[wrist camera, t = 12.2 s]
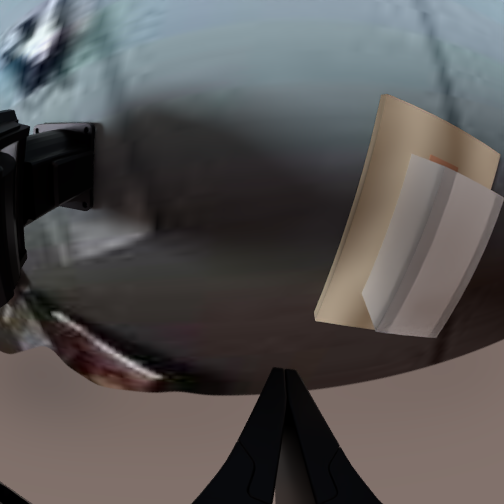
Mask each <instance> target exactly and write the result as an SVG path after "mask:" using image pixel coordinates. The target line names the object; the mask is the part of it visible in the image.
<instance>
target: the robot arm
mask: <svg viewBox="0 0 504 504" xmlns="http://www.w3.org/2000/svg"><path fill="white" fill-rule="evenodd" d="M18 121H19V120H17V117H16V114H15V111H14V110H10V109H9V110H3V111H0V308H1V307H2V306H4V305H5V304H6V303H8V301H9V300H10V299H11V298H12V297H13V296H14V289H15V287H16V284H17V282H18V280H19V278H20V269H21V268H22V266H23V264H24V263H25V261H26V259H27V251H26V249H25V241H24V227H25V226H26V225H28V224H30V223H31V222H33V221H34V220H36V219H38V218H39V217H41V216H43V215H44V214H46V213H48V212H49V211H51V210H53V209H55V208H56V207H59V206H62V207H67V208H72V209H77V210H82V211H88V210H89V209H91V208H92V206H93V161H94V154H93V151H94V135H95V127H94V125H93V124H92V123H52V124H38V125H36V126H35V127H34V131H33V135H29V131H30V126H27V125H23V124H19V123H18ZM87 128H89V132H87ZM85 202H86V203H87V205H86V204H85ZM274 491H275V493H276V494H275V497H276V504H382V503H381V502H380V501H379V500H378V499H377V498H376V496H375V495H374V494H373V492H372V491H371V490H370V489H369V487H368V486H367V485H366V484H365V482H364V481H363V480H362V479H361V478H360V476H359V475H358V474H357V472H356V471H355V469H354V468H353V467H352V465H351V464H350V462H349V460H348V459H347V457H346V456H345V454H344V452H343V450H342V449H341V447H339V444H338V442H337V440H336V439H335V437H334V435H333V433H332V432H331V430H330V428H329V427H328V425H327V423H326V421H325V419H324V418H323V416H322V414H321V412H320V411H319V409H318V407H317V405H316V404H315V402H314V400H313V398H312V397H311V395H310V393H309V391H308V389H307V388H306V386H305V384H304V382H303V381H302V379H301V377H300V375H299V373H298V372H297V371H296V370H293V369H285V370H284V369H283V368H277V367H273V368H272V370H271V373H270V375H269V377H268V379H267V381H266V383H265V386H264V388H263V390H262V392H261V394H260V396H259V398H258V401H257V403H256V405H255V407H254V409H253V411H252V413H251V415H250V417H249V419H248V421H247V423H246V425H245V427H244V429H243V431H242V433H241V435H240V437H239V439H238V441H237V442H236V444H235V446H234V448H233V450H232V452H231V453H230V455H229V457H228V459H227V460H226V462H225V463H224V465H223V466H222V467H221V469H220V470H219V472H218V473H217V474H216V475H215V477H214V478H213V479H212V480H211V482H210V483H209V484H208V485H207V486H206V488H205V489H204V490H203V491H202V492H201V493H200V495H199V496H198V497H197V498H196V499H195V500H194V501H193V503H192V504H272V503H273V497H274ZM0 504H32V503H30V502H29V501H27V500H26V499H25V498H23V497H22V496H20V495H19V494H17V493H16V492H15V491H13V490H12V489H10V488H9V487H7V486H6V485H4V484H3V483H2V482H0Z"/></svg>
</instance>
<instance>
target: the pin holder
mask: <svg viewBox="0 0 504 504" xmlns="http://www.w3.org/2000/svg"><path fill="white" fill-rule="evenodd" d="M411 154H414V155H417V156H419V157H422V158H425V159H427V160H430V161H433V162H435V163H438V164H440V165H443V166H445V167H447V168H449V169H452V170H454V171H456V172H458V173H460V174H462V175H464V176H466V177H468V178H470V179H472V180H473V181H475V182H477V183H479V184H481V185H483V186H485V187H486V188H488V189H490V190H491V187H492V184H493V180H494V177H495V173H496V170H497V166H498V162H499V158H500V154H499V153H497V152H496V151H495V150H493V149H492V148H490V147H489V146H487V145H485V144H484V143H482V142H481V141H479V140H478V139H476V138H474V137H473V136H471V135H469V134H468V133H466V132H464V131H463V130H461V129H459V128H457V127H456V126H454V125H452V124H450V123H448V122H446V121H445V120H443V119H441V118H439V117H437V116H435V115H433V114H431V113H429V112H427V111H425V110H423V109H421V108H418V107H416V106H414V105H412V104H410V103H407V102H405V101H403V100H400V99H398V98H396V97H393V96H391V95H388V94H384V95H381V98H380V103H379V107H378V112H377V116H376V121H375V125H374V129H373V133H372V137H371V141H370V145H369V149H368V153H367V156H366V160H365V164H364V168H363V171H362V175H361V178H360V182H359V185H358V188H357V192H356V195H355V198H354V202H353V205H352V208H351V211H350V214H349V218H348V221H347V224H346V227H345V230H344V233H343V236H342V239H341V242H340V245H339V248H338V250H337V253H336V256H335V259H334V262H333V264H332V267H331V270H330V273H329V275H328V278H327V281H326V283H325V286H324V289H323V291H322V294H321V296H320V299H319V301H318V304H317V306H316V309H315V311H314V315H315V321H320V322H326V323H332V324H339V325H345V326H352V327H359V328H366V329H373V330H375V328H374V325H373V323H372V320H371V317H370V314H369V312H368V309H367V306H366V304H365V301H364V298H363V296H362V291H363V289H364V287H365V284H366V282H367V280H368V278H369V275H370V273H371V270H372V268H373V266H374V263H375V261H376V258H377V256H378V253H379V251H380V248H381V246H382V243H383V241H384V238H385V235H386V233H387V230H388V227H389V224H390V222H391V219H392V216H393V213H394V210H395V207H396V204H397V201H398V198H399V195H400V192H401V189H402V185H403V182H404V179H405V175H406V172H407V169H408V165H409V161H410V158H411Z"/></svg>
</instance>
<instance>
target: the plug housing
mask: <svg viewBox="0 0 504 504" xmlns="http://www.w3.org/2000/svg"><path fill="white" fill-rule="evenodd" d="M503 200H504V197H502V196H500V195H499V194H497V193H495V192H493V191H492V190H490V189H488V188H486V187H485V186H483V185H481V184H479V183H477V182H475V181H473V180H472V179H470V178H468V177H466V176H464V175H462V174H460V173H458V172H456V171H454V170H452V169H449V168H447V167H445V166H443V165H440V164H438V163H435V162H433V161H430V160H427V159H425V158H422V157H419V156H417V155H414V154H411V158H410V161H409V165H408V169H407V172H406V175H405V179H404V182H403V185H402V189H401V192H400V195H399V198H398V201H397V204H396V207H395V210H394V213H393V216H392V219H391V222H390V224H389V227H388V230H387V233H386V235H385V238H384V241H383V243H382V246H381V248H380V251H379V253H378V256H377V258H376V261H375V263H374V266H373V268H372V270H371V273H370V275H369V278H368V280H367V282H366V284H365V287H364V289H363V291H362V296H363V298H364V301H365V304H366V306H367V309H368V312H369V314H370V317H371V320H372V323H373V325H374V328H375V331H376V332H382V333H391V334H399V335H409V336H419V337H430V338H436V337H437V336H438V334H439V333H440V331H441V330H442V328H443V327H444V325H445V323H446V322H447V320H448V319H449V317H450V315H451V314H452V312H453V310H454V309H455V307H456V305H457V304H458V302H459V300H460V298H461V296H462V295H463V293H464V291H465V289H466V287H467V285H468V283H469V282H470V280H471V278H472V276H473V274H474V272H475V270H476V267H477V265H478V263H479V261H480V259H481V257H482V255H483V252H484V250H485V248H486V246H487V243H488V241H489V238H490V236H491V233H492V231H493V228H494V226H495V223H496V220H497V218H498V215H499V212H500V209H501V206H502V203H503Z"/></svg>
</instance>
